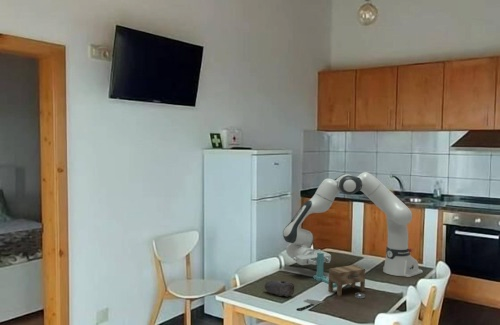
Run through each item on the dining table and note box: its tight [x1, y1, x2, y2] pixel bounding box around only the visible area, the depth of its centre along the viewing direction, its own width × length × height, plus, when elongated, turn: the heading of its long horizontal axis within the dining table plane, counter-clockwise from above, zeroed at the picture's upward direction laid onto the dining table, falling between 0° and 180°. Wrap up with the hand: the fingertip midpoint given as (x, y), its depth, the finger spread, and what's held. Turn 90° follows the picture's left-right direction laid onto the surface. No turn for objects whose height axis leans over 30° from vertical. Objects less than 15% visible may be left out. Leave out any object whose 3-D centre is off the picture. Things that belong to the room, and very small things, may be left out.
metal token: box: [354, 292, 366, 300], centre depth 216 cm, size 4×4×2 cm
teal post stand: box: [313, 252, 344, 289], centre depth 237 cm, size 16×7×14 cm, turn 29°
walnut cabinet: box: [327, 264, 366, 297], centre depth 224 cm, size 16×9×11 cm, turn 119°
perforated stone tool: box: [264, 279, 295, 298], centre depth 217 cm, size 15×5×7 cm, turn 57°
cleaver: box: [295, 298, 326, 312], centre depth 210 cm, size 29×1×10 cm
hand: (322, 262), depth 240 cm, fingers open, 7 cm apart
